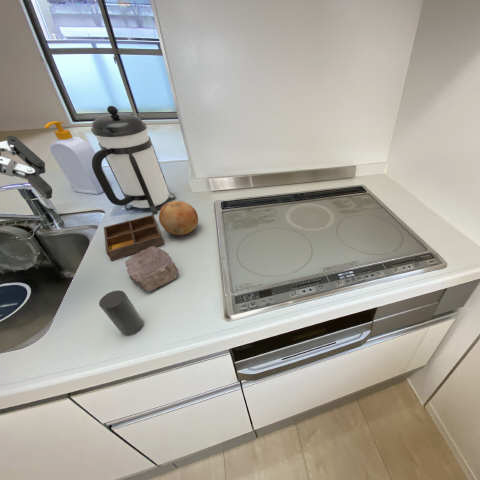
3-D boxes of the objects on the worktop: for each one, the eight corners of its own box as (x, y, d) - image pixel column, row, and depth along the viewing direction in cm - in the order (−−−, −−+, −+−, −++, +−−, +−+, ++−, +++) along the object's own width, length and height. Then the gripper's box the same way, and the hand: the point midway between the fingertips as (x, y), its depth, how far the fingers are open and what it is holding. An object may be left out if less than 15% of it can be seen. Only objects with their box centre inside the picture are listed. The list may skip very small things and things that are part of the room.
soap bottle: (73, 193, 90) (29, 123, 75) (89, 184, 95) (51, 117, 81) (97, 196, 89) (58, 126, 75) (112, 186, 95) (78, 119, 80)
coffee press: (122, 198, 89) (73, 101, 70) (173, 189, 95) (141, 98, 76) (121, 225, 77) (63, 118, 58) (179, 213, 84) (144, 112, 65)
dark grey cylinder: (121, 339, 50) (99, 312, 44) (120, 324, 53) (98, 296, 47) (145, 329, 52) (126, 301, 46) (142, 315, 54) (124, 287, 49)
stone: (124, 270, 63) (115, 257, 61) (161, 253, 69) (155, 239, 66) (145, 297, 58) (137, 283, 55) (184, 275, 63) (178, 262, 60)
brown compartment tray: (111, 261, 66) (106, 252, 64) (108, 235, 73) (103, 227, 72) (164, 244, 72) (161, 236, 70) (156, 222, 79) (153, 214, 77)
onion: (200, 219, 82) (191, 191, 75) (202, 237, 75) (194, 208, 69) (165, 225, 78) (154, 196, 72) (165, 245, 71) (152, 215, 65)
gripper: (-194, 109, 29) (-57, 222, 33) (-20, 91, 39) (69, 179, 43) (-157, 147, 34) (-42, 242, 38) (-11, 122, 44) (68, 198, 48)
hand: (17, 208), depth 40 cm, fingers open, 8 cm apart
